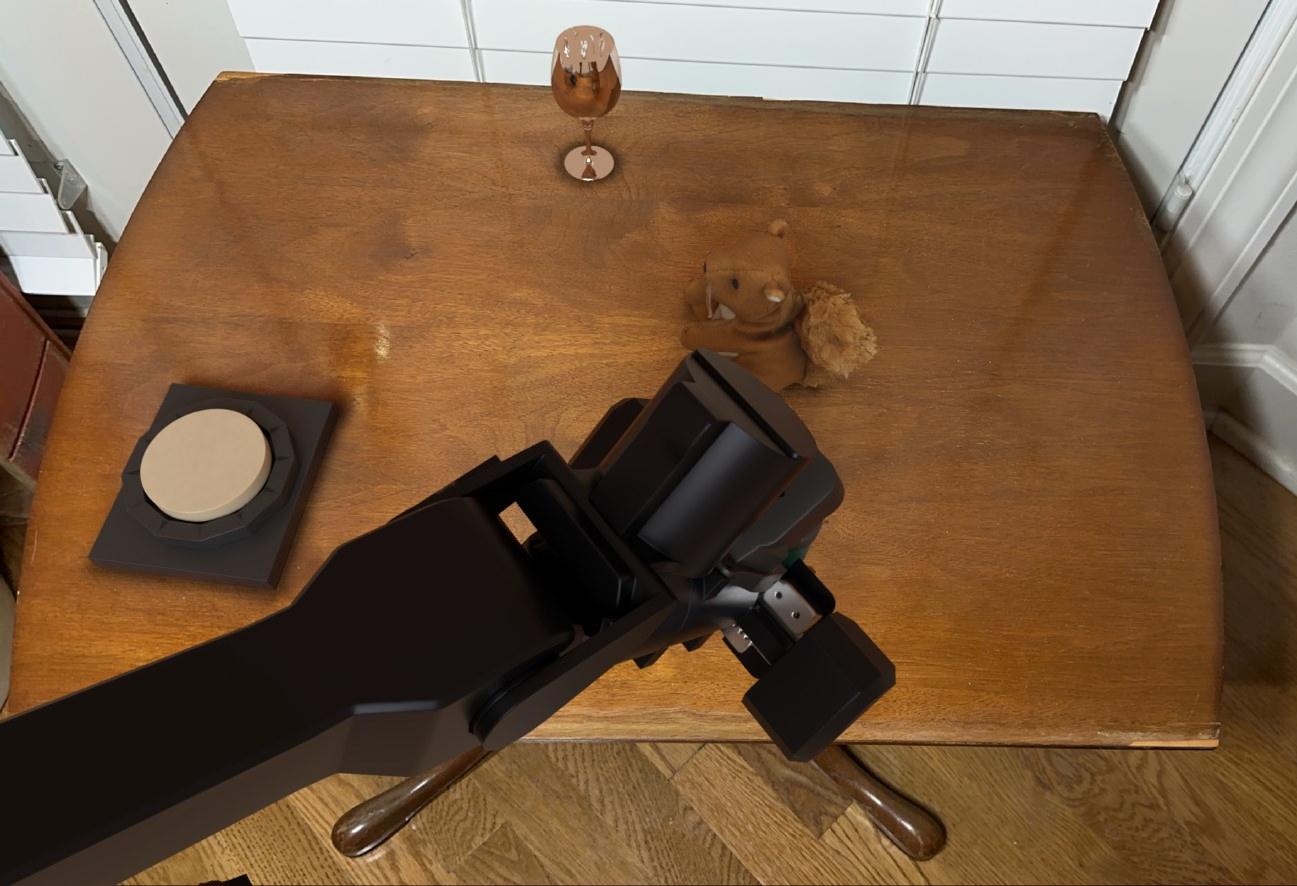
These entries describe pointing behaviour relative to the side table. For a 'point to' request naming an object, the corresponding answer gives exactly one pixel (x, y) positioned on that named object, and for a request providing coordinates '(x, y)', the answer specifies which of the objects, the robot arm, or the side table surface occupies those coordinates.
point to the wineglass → (586, 91)
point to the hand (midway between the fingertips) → (787, 552)
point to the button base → (241, 540)
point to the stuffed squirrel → (774, 315)
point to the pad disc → (206, 465)
